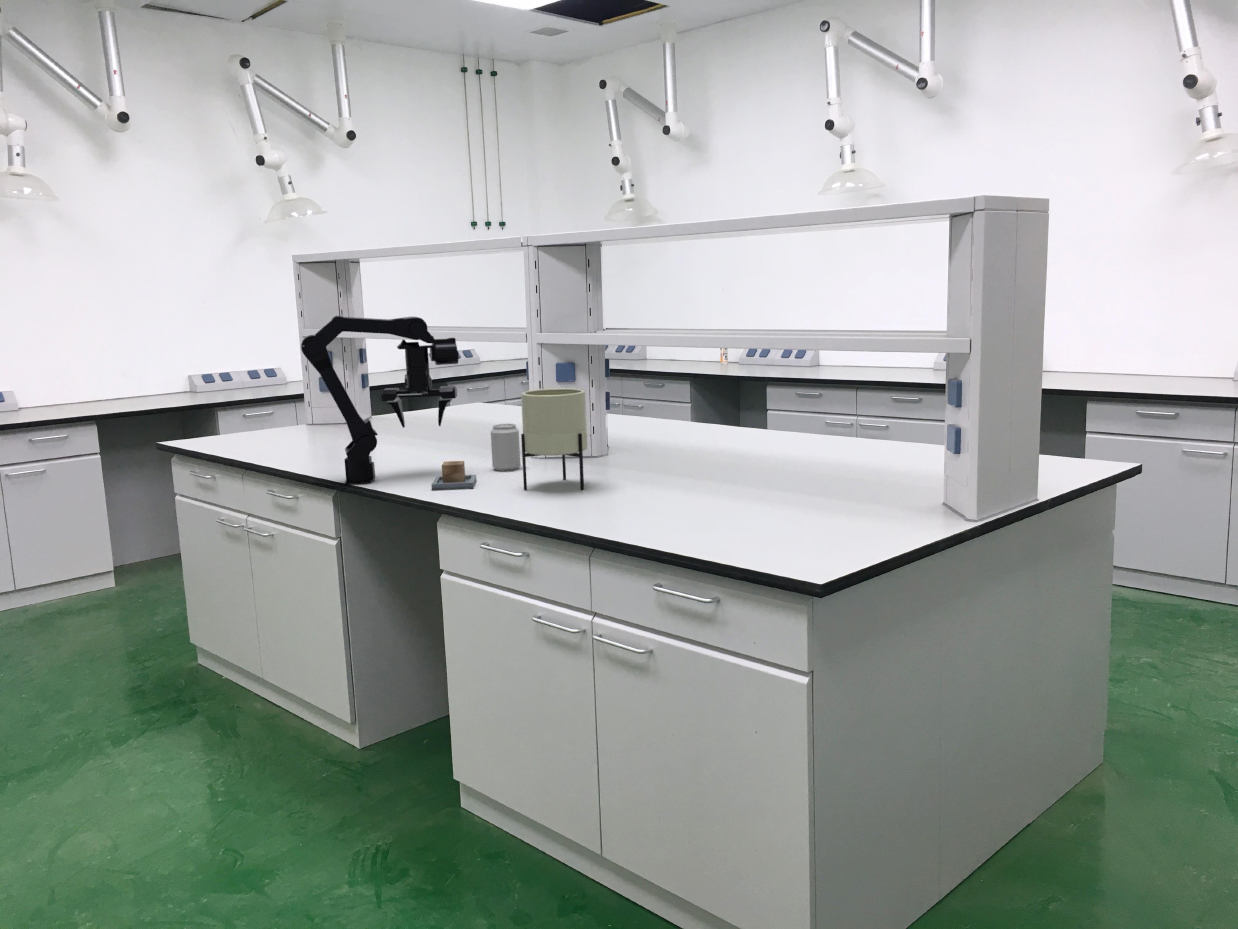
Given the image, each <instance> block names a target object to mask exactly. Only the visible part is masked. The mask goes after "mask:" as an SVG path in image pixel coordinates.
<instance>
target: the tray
mask: <svg viewBox="0 0 1238 929" xmlns="http://www.w3.org/2000/svg"><path fill="white" fill-rule="evenodd" d="M476 483H477V474H465V482H455V483H443V478H442V475H438V476H437V475H436V476H435V478H434V479H433V481H432V482H431V491H447V490H451V491H452V490H468V489H469V490H471V489H473V490H474V488H475V485H476Z"/></svg>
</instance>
